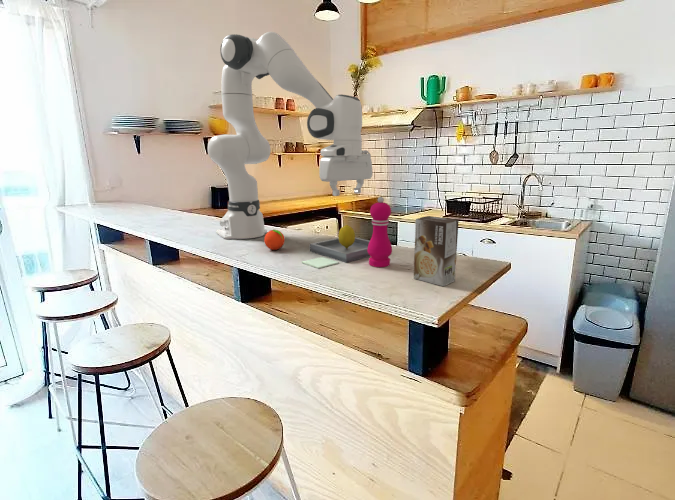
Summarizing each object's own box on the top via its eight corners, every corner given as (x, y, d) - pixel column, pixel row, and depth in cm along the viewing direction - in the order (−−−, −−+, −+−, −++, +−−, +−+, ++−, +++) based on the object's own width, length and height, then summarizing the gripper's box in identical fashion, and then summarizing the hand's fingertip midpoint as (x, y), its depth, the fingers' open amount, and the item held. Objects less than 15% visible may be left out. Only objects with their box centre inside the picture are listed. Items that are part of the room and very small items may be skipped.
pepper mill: (373, 259, 116) (374, 194, 111) (395, 263, 113) (397, 196, 108) (363, 265, 110) (363, 197, 105) (385, 269, 107) (387, 198, 102)
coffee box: (456, 280, 97) (460, 219, 93) (443, 287, 92) (447, 222, 88) (425, 273, 103) (428, 215, 99) (411, 278, 99) (414, 218, 95)
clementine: (291, 249, 129) (290, 229, 127) (275, 253, 124) (273, 232, 122) (276, 246, 134) (275, 226, 133) (260, 249, 129) (259, 229, 128)
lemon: (355, 250, 123) (355, 226, 121) (338, 250, 123) (338, 226, 121) (354, 246, 128) (354, 223, 126) (338, 246, 128) (338, 223, 126)
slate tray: (309, 251, 127) (309, 243, 126) (348, 243, 138) (348, 235, 137) (346, 262, 114) (346, 254, 113) (385, 252, 125) (385, 244, 124)
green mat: (301, 262, 114) (301, 261, 113) (322, 257, 119) (322, 256, 119) (318, 268, 108) (318, 267, 108) (339, 263, 113) (339, 262, 113)
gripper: (363, 150, 126) (362, 191, 130) (316, 150, 113) (316, 196, 117) (377, 150, 122) (376, 193, 126) (329, 150, 109) (329, 198, 112)
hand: (347, 194), depth 121 cm, fingers open, 8 cm apart
